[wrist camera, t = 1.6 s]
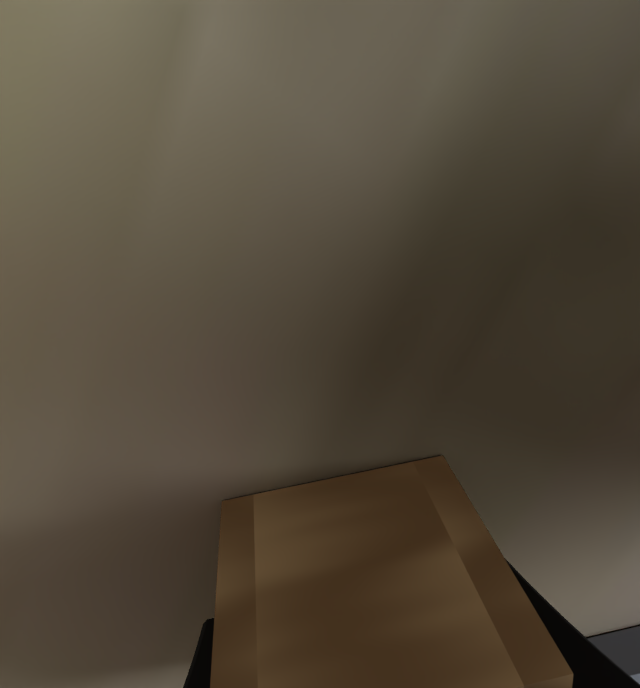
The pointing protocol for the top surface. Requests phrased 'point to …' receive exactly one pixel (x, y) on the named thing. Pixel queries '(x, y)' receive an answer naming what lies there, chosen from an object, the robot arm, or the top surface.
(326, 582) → the wooden cubby box
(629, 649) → the flat gray board
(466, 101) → the top surface
